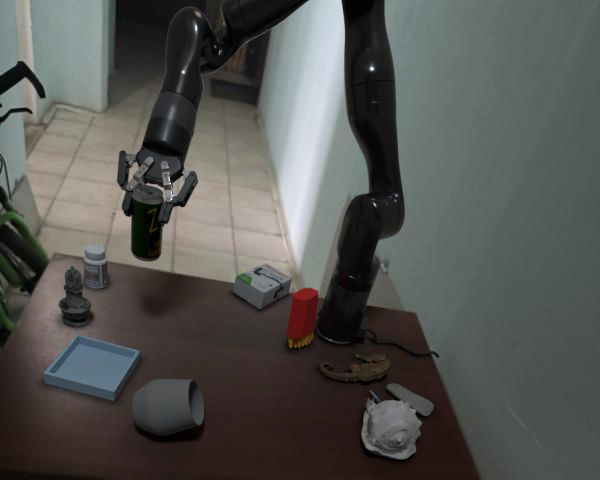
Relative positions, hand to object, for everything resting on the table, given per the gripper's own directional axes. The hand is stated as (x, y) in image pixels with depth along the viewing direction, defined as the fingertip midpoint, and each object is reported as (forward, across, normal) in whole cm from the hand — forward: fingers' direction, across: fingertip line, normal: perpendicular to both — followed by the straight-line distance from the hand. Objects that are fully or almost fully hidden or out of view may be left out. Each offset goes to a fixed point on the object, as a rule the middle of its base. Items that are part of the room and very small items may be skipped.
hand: (143, 219), depth 90 cm
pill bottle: (+9, -15, +26) cm, 31 cm away
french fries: (0, +30, +17) cm, 35 cm away
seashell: (+26, +51, +9) cm, 57 cm away
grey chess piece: (+18, -12, +16) cm, 27 cm away
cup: (+32, +9, -2) cm, 33 cm away
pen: (+24, +58, +10) cm, 64 cm away
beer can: (+4, 0, +7) cm, 8 cm away
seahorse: (+12, +39, +16) cm, 44 cm away
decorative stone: (+14, +58, +19) cm, 63 cm away
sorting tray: (+27, -3, +6) cm, 28 cm away
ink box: (0, +17, +30) cm, 35 cm away
